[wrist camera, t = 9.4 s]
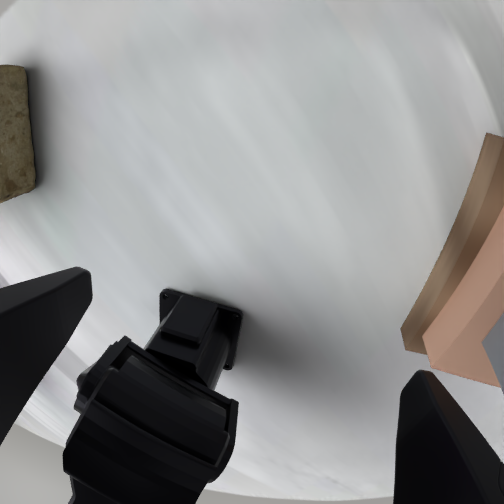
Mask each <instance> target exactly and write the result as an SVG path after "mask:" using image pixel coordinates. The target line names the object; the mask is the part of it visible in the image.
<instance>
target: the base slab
mask: <svg viewBox="0 0 504 504" xmlns="http://www.w3.org/2000/svg"><path fill="white" fill-rule="evenodd" d="M503 206H504V138H503V137H500V136H496V135H493V134H490V133H486V135H485V139H484V142H483V145H482V149H481V152H480V155H479V158H478V161H477V164H476V167H475V170H474V173H473V176H472V179H471V181H470V184H469V187H468V190H467V192H466V195H465V198H464V200H463V203H462V205H461V208H460V210H459V213H458V215H457V217H456V220H455V222H454V225H453V227H452V229H451V231H450V234H449V236H448V238H447V240H446V243H445V245H444V247H443V249H442V251H441V253H440V256H439V258H438V260H437V262H436V264H435V266H434V268H433V270H432V272H431V274H430V276H429V278H428V280H427V282H426V284H425V286H424V287H423V289H422V291H421V293H420V295H419V297H418V299H417V300H416V302H415V304H414V306H413V308H412V309H411V311H410V313H409V315H408V316H407V318H406V320H405V322H404V323H403V325H402V327H401V328H400V329H401V333H402V337H403V341H404V346H405V350H408V351H412V352H417V353H421V354H426V355H428V354H427V351H426V348H425V344H424V341H423V338H422V336H423V334H424V333H425V332H426V330H427V329H428V328H429V326H430V325H431V324H432V322H433V321H434V320H435V318H436V317H437V316H438V314H439V313H440V311H441V310H442V309H443V307H444V306H445V304H446V303H447V301H448V300H449V299H450V297H451V296H452V294H453V293H454V291H455V290H456V288H457V287H458V285H459V284H460V282H461V280H462V279H463V277H464V276H465V274H466V273H467V271H468V269H469V268H470V266H471V265H472V263H473V261H474V260H475V258H476V256H477V255H478V253H479V251H480V249H481V248H482V246H483V244H484V242H485V241H486V239H487V237H488V235H489V233H490V232H491V230H492V228H493V226H494V224H495V222H496V220H497V218H498V216H499V214H500V212H501V210H502V208H503Z"/></svg>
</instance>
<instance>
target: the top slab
mask: <svg viewBox="0 0 504 504" xmlns="http://www.w3.org/2000/svg"><path fill="white" fill-rule="evenodd" d="M503 313H504V206H503V208H502V210H501V212H500V214H499V216H498V218H497V220H496V222H495V224H494V226H493V228H492V230H491V232H490V233H489V235H488V237H487V239H486V241H485V242H484V244H483V246H482V248H481V249H480V251H479V253H478V255H477V256H476V258H475V260H474V261H473V263H472V265H471V266H470V268H469V269H468V271H467V273H466V274H465V276H464V277H463V279H462V280H461V282H460V284H459V285H458V287H457V288H456V290H455V291H454V293H453V294H452V296H451V297H450V299H449V300H448V301H447V303H446V304H445V306H444V307H443V309H442V310H441V311H440V313H439V314H438V316H437V317H436V318H435V320H434V321H433V322H432V324H431V325H430V326H429V328H428V329H427V330H426V332H425V333H424V334H423V336H422V338H423V341H424V344H425V348H426V351H427V354H428V358H429V361H430V365H431V368H434V369H437V370H440V371H444V372H447V373H450V374H454V375H457V376H460V377H464V378H467V379H471V380H474V381H478V382H482V383H485V384H489V385H492V386H496V387H500V388H501V386H500V384H499V381H498V379H497V376H496V374H495V372H494V369H493V367H492V365H491V362H490V360H489V358H488V356H487V353H486V351H485V349H484V347H483V345H482V343H481V342H482V341H483V340H484V339H485V337H486V336H487V335H488V333H489V332H490V331H491V329H492V328H493V327H494V325H495V324H496V322H497V321H498V320H499V318H500V317H501V315H502V314H503Z"/></svg>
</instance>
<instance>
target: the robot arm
mask: <svg viewBox="0 0 504 504" xmlns="http://www.w3.org/2000/svg"><path fill="white" fill-rule="evenodd" d="M165 295H167V296H168V297H166V296H165ZM92 296H93V294H92V281H91V274H90V272H89V271H88V270H86V269H83V268H81V267H73V268H70V269H66V270H62V271H59V272H55V273H52V274H48V275H45V276H41V277H38V278H34V279H31V280H27V281H24V282H20V283H17V284H14V285H10V286H7V287H4V288H0V445H1V444H2V442H3V440H4V438H5V437H6V435H7V433H8V432H9V430H10V428H11V427H12V425H13V424H14V422H15V420H16V419H17V417H18V415H19V414H20V412H21V411H22V409H23V407H24V406H25V404H26V403H27V401H28V400H29V398H30V397H31V395H32V394H33V392H34V391H35V389H36V388H37V386H38V385H39V383H40V382H41V380H42V379H43V377H44V376H45V374H46V373H47V371H48V370H49V368H50V367H51V366H52V364H53V363H54V361H55V360H56V358H57V357H58V356H59V354H60V353H61V351H62V350H63V348H64V347H65V345H66V344H67V342H68V341H69V339H70V337H71V336H72V334H73V332H74V331H75V329H76V327H77V325H78V324H79V322H80V320H81V319H82V317H83V315H84V314H85V312H86V310H87V309H88V307H89V305H90V303H91V301H92ZM234 315H237V316H238V317H236V316H234ZM242 319H243V313H242V311H241V310H239V309H236V308H232V307H228V306H225V305H221V304H218V303H214V302H210V301H207V300H203V299H200V298H196V297H193V296H189V295H186V294H182V293H179V292H176V291H172V290H169V289H163V290H162V292H161V293H160V325H159V326H158V328H157V329H156V331H155V332H154V334H153V335H152V337H151V338H150V340H149V341H148V343H147V344H146V346H145V347H144V349H142V348H141V347H139V346H138V345H136V344H135V343H133V342H132V341H131V339H130V338H128V337H127V336H124V337H123V338H122V339H121V340H120V341H119V342H117V341H116V342H115V343H114V344H113V345H110V346H109V347H108V348H107V350H106V351H105V352H104V354H103V355H102V356H101V357H100V359H99V360H98V361H97V362H95V363H94V364H93V365H91V366H90V367H89V368H87V369H86V370H85V371H83V372H82V373H81V374H80V375H79V377H78V378H77V381H76V382H77V386H78V390H79V391H78V393H77V399H76V401H75V404H74V409H75V410H76V411H77V412H79V413H80V414H81V415H80V417H79V419H78V421H77V422H76V424H75V426H74V428H73V430H72V432H71V434H70V436H69V437H68V439H67V442H66V448H65V449H64V451H63V470H64V472H65V473H67V474H68V475H70V481H71V487H72V492H73V496H72V498H71V499H70V501H69V503H68V504H195V503H196V501H197V499H198V497H199V495H200V494H201V492H202V490H203V489H204V487H205V486H206V484H207V483H211V482H213V481H215V480H216V479H217V478H218V477H219V476H220V474H221V473H222V472H223V470H224V469H225V467H226V465H227V464H228V462H229V460H230V457H231V455H232V452H233V449H234V445H235V438H236V427H237V416H238V405H239V402H238V401H236V400H234V399H232V398H231V399H229V398H227V397H225V396H223V395H221V394H219V393H217V392H216V391H214V390H215V387H216V385H217V382H218V380H219V377H220V374H221V372H222V369H225V370H231V369H232V367H233V364H234V359H235V354H236V349H237V344H238V339H239V334H240V329H241V324H242ZM227 364H228V365H227ZM500 461H501V460H500V458H499V457H498V455H497V454H496V453H495V451H494V450H493V449H492V447H491V446H490V445H489V443H488V442H487V441H486V439H485V438H484V437H483V435H482V434H481V433H480V431H479V430H478V429H477V428H476V426H475V425H474V424H473V422H472V421H471V420H470V418H469V417H468V416H467V415H466V413H465V412H464V411H463V410H462V408H461V407H460V406H459V405H458V403H457V402H456V401H455V400H454V398H453V397H452V396H451V395H450V393H449V392H448V391H447V390H446V388H445V387H444V386H443V385H442V383H441V382H440V381H439V380H438V379H437V377H436V376H435V375H434V374H433V373H432V372H430V371H425V370H418V371H417V372H416V373H415V374H414V375H413V376H412V378H411V379H410V380H409V382H408V383H407V384H406V386H405V387H404V388H403V390H402V392H401V396H400V406H399V418H398V428H397V438H396V458H395V484H394V500H393V504H504V464H503V462H500Z"/></svg>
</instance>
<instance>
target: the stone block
mask: <svg viewBox="0 0 504 504" xmlns="http://www.w3.org/2000/svg"><path fill="white" fill-rule="evenodd" d="M35 177H36V176H35V167H34V151H33V146H32V139H31V126H30V120H29V108H28V86H27V76H26V73H25V70H24V67H21V66H15V65H0V203H2V202H4V201H7V200H9V199H12V198H14V197H17V196H19V195H22V194H24V193H28V192H30V191H32V190H33V189H34V188H35Z"/></svg>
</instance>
